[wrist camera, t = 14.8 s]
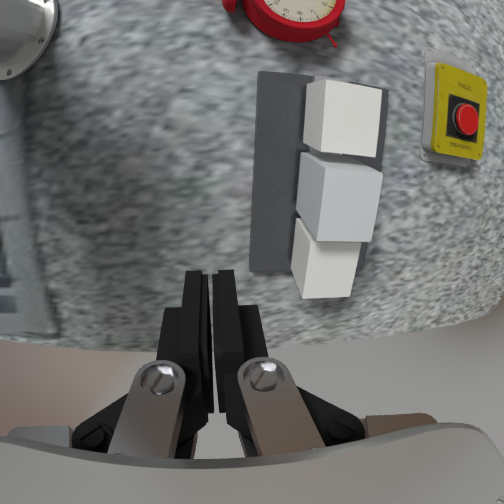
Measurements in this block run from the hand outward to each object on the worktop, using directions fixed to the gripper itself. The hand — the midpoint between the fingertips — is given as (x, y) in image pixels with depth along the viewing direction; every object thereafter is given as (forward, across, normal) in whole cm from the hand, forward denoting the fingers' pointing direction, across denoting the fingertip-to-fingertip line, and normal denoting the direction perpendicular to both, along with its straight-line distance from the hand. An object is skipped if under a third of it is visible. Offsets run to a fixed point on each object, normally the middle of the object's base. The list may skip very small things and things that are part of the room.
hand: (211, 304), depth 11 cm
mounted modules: (+21, -11, +1) cm, 24 cm away
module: (+21, -11, +1) cm, 24 cm away
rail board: (+23, -11, +1) cm, 26 cm away
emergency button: (+24, -29, -10) cm, 39 cm away
